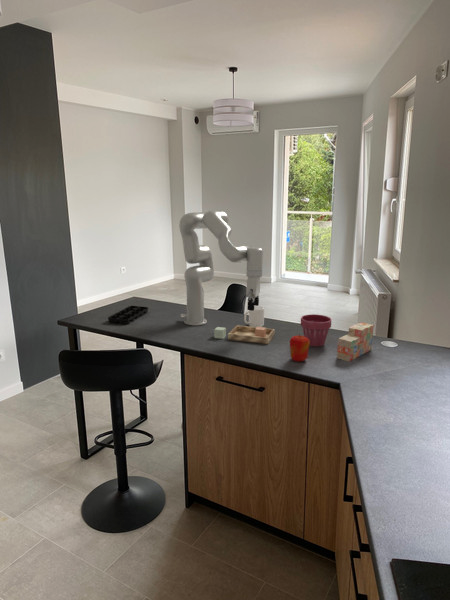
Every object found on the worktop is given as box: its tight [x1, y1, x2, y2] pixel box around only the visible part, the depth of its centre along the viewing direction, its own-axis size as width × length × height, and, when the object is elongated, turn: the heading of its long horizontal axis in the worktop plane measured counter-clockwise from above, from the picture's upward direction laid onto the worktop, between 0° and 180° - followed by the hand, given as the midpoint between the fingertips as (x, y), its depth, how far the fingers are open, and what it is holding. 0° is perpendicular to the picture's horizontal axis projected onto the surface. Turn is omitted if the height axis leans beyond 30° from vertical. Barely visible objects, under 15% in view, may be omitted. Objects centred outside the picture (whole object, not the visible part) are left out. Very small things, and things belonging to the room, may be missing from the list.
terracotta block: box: [255, 326, 267, 337], centre depth 211 cm, size 4×4×4 cm
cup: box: [243, 305, 265, 327], centre depth 231 cm, size 8×12×10 cm
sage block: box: [213, 326, 227, 340], centre depth 213 cm, size 4×4×4 cm
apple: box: [289, 333, 310, 362], centre depth 182 cm, size 9×8×12 cm
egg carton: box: [107, 305, 149, 326], centre depth 245 cm, size 18×30×4 cm, turn 178°
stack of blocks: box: [336, 322, 375, 362], centre depth 190 cm, size 21×6×12 cm, turn 137°
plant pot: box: [300, 313, 332, 348], centre depth 203 cm, size 14×14×13 cm
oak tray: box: [227, 325, 276, 345], centre depth 213 cm, size 20×15×3 cm
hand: (253, 307), depth 208 cm, fingers open, 9 cm apart
